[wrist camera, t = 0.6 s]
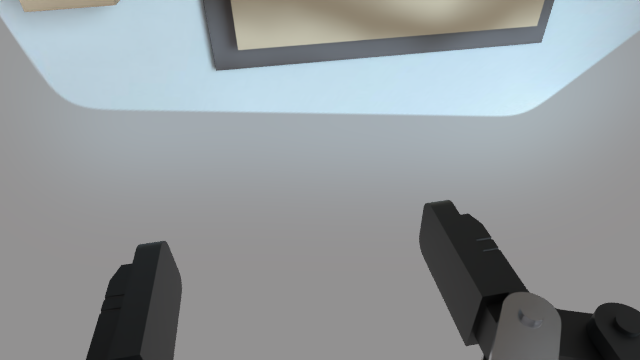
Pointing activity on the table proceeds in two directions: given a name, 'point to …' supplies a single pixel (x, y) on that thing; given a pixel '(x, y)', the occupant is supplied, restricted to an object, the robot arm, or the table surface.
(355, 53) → the board
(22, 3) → the block
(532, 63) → the table surface
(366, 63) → the table surface
